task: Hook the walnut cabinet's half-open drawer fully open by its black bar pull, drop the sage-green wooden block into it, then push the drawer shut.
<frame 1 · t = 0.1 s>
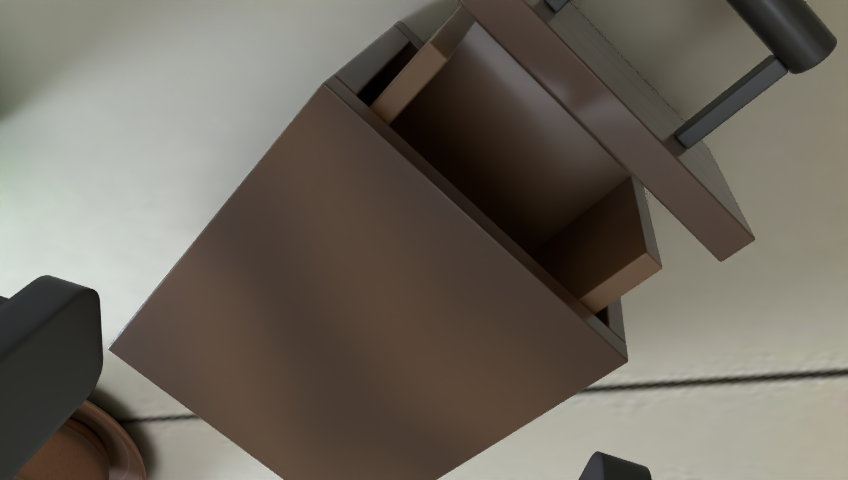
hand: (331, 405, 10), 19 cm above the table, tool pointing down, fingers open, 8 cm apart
drawer: (517, 155, 23), point 5 cm above the table, slide at 4.0 cm
cabinet: (400, 231, 31), on the table
cup and saucer: (80, 433, 44), on the table
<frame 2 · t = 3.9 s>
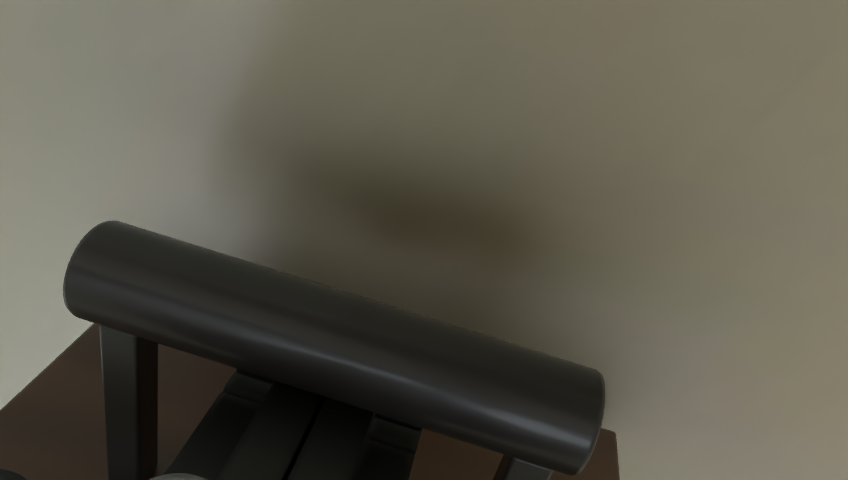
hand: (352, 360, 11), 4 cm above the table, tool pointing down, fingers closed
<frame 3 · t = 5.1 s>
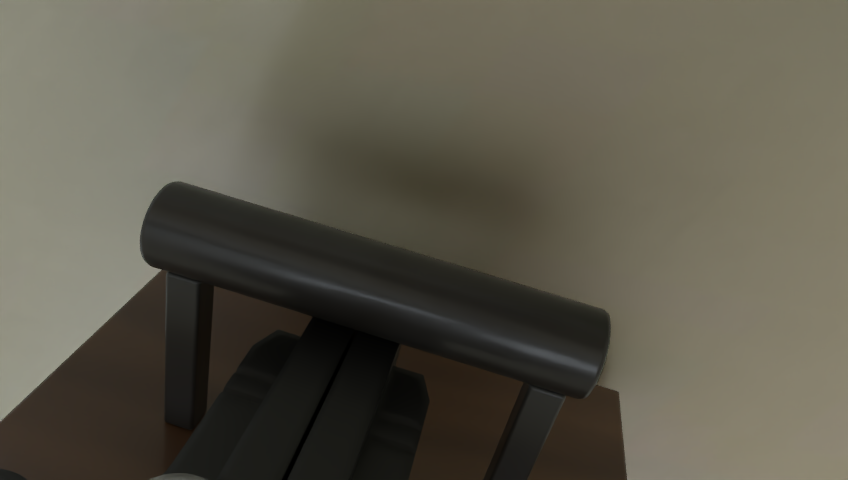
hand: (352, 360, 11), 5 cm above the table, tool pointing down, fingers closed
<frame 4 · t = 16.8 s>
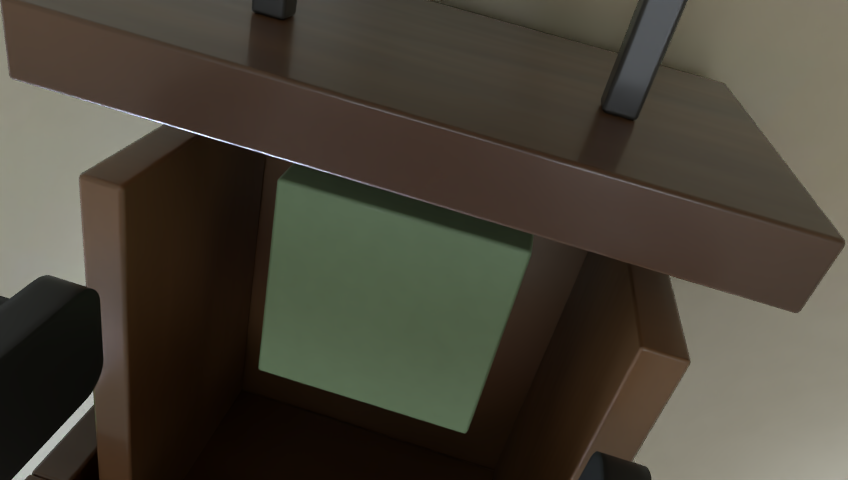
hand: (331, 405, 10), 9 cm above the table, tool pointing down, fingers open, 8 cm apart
block: (426, 211, 16), point 2 cm above the table, touching drawer
drawer: (402, 248, 14), point 5 cm above the table, slide at 9.1 cm, touching block
cabinet: (359, 474, 25), on the table
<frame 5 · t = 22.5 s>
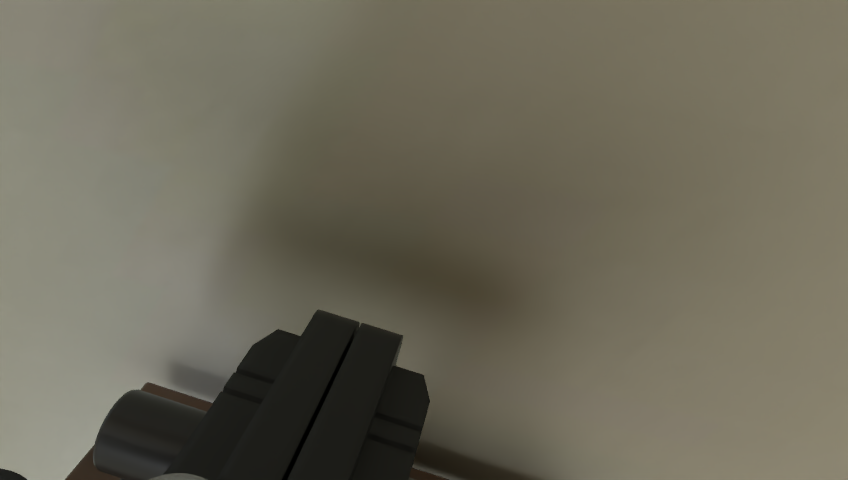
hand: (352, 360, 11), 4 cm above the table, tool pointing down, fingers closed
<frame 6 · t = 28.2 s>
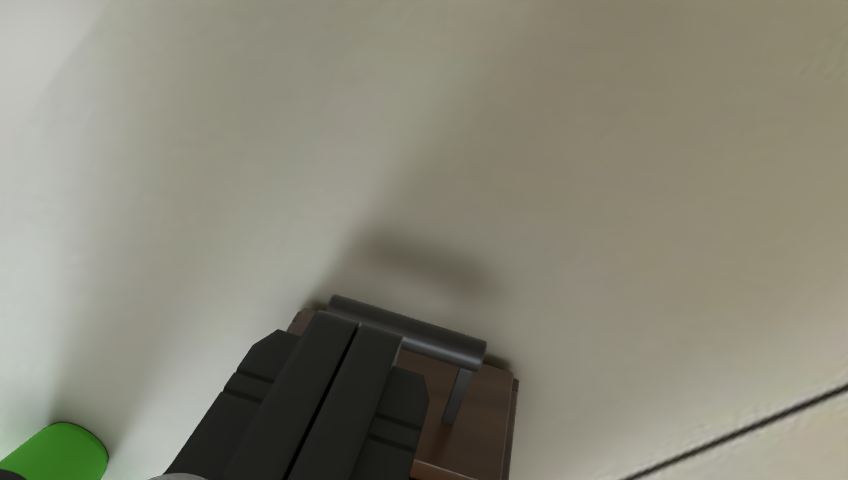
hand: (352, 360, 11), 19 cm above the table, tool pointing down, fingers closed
cup: (78, 445, 46), on the table
drawer: (375, 446, 33), point 5 cm above the table, slide at 0.0 cm, touching block
cabinet: (382, 434, 39), on the table
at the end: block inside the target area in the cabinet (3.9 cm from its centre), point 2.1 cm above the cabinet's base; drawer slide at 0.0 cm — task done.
